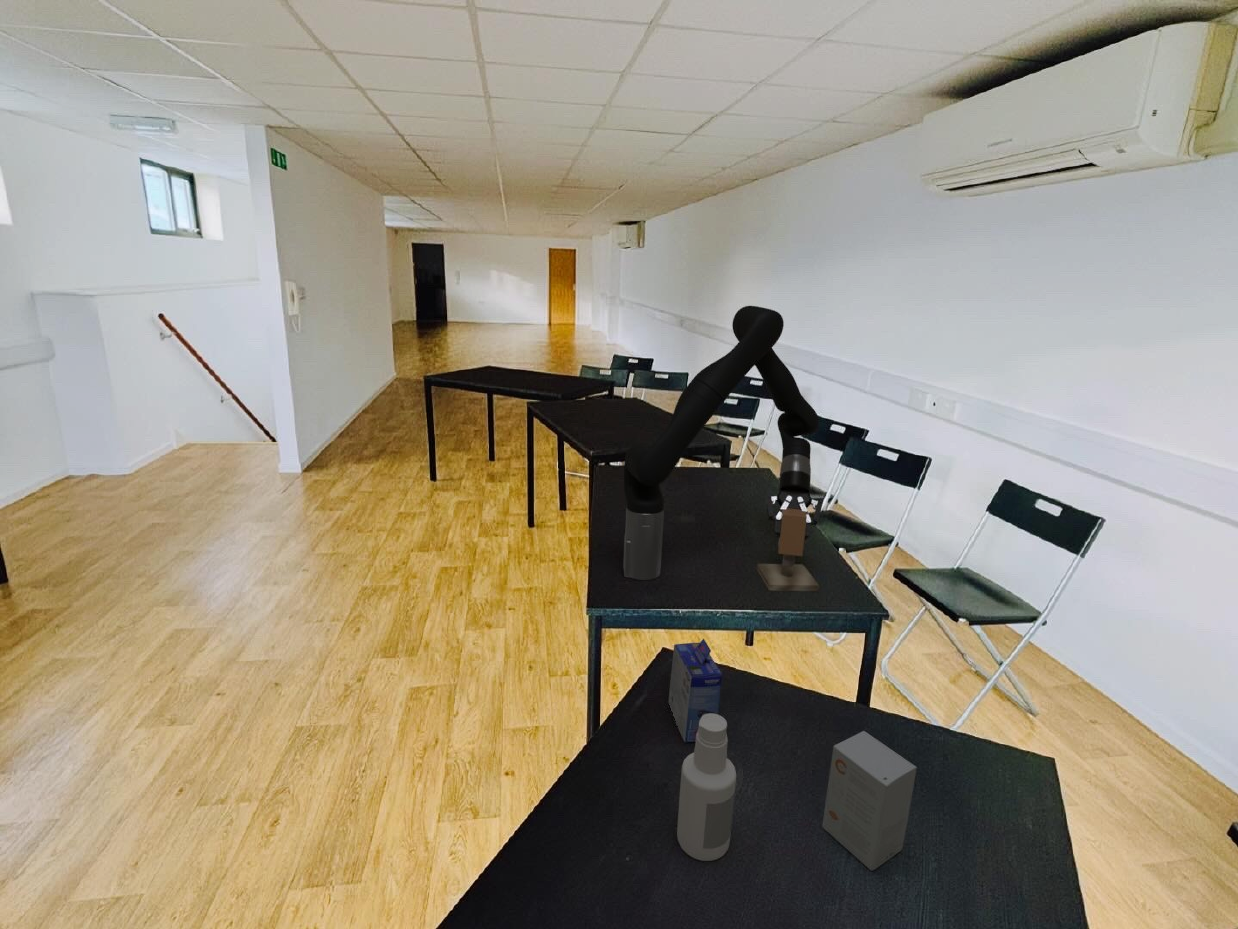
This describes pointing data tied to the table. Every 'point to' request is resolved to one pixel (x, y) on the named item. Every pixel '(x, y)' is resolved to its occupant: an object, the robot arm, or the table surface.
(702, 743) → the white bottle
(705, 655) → the ink cartridge box
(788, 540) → the tall brown carton
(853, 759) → the small box
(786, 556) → the post stand
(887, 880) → the table surface
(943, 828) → the table surface
